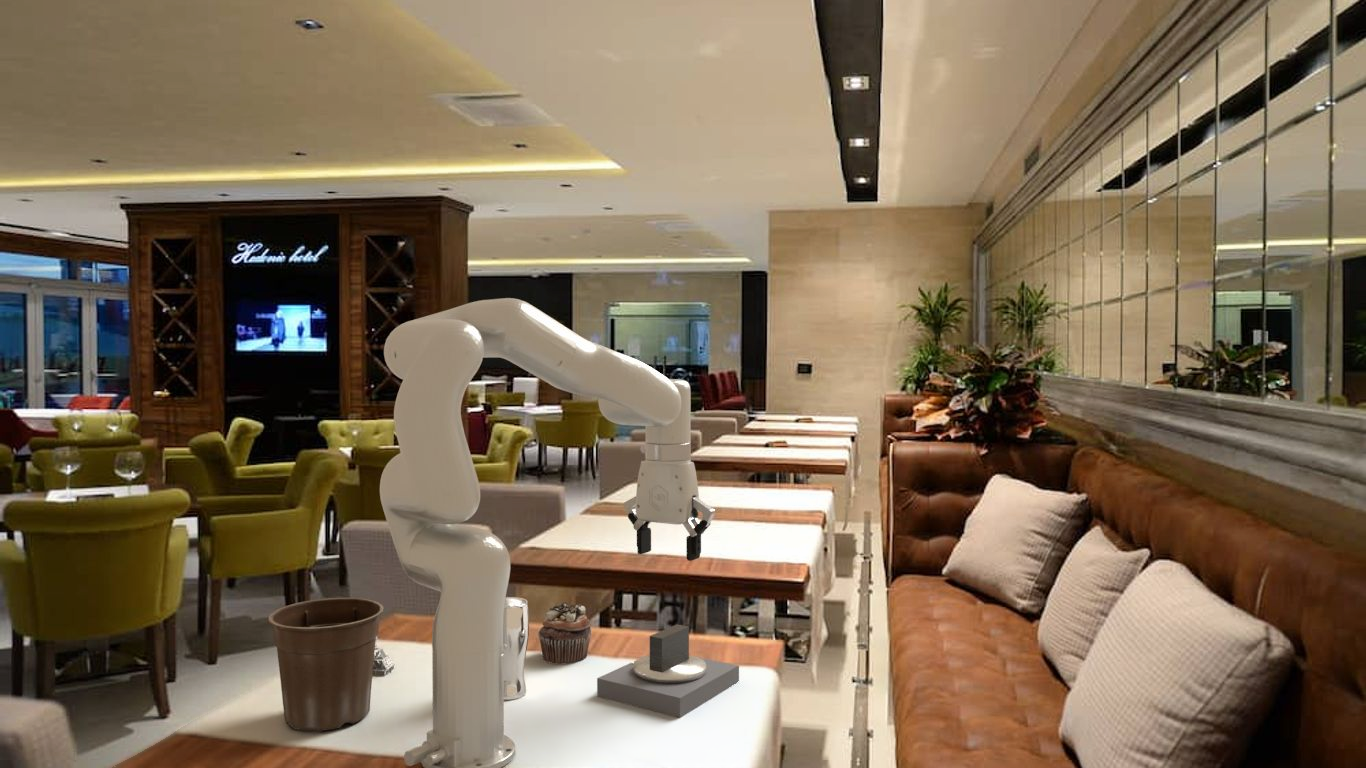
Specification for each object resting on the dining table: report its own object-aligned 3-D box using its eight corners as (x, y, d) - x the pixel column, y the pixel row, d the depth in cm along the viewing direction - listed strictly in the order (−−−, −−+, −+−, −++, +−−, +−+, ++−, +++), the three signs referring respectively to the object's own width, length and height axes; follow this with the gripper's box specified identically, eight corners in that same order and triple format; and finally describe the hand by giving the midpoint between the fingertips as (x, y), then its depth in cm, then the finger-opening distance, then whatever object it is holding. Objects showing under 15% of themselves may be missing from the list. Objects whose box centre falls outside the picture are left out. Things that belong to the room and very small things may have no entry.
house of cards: (416, 662, 166) (416, 620, 166) (394, 679, 157) (394, 634, 157) (369, 660, 167) (369, 618, 167) (345, 676, 159) (345, 632, 159)
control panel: (680, 717, 140) (680, 696, 139) (597, 696, 148) (597, 676, 148) (738, 683, 155) (739, 664, 155) (660, 666, 163) (660, 648, 163)
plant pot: (376, 733, 133) (376, 623, 133) (257, 742, 130) (256, 629, 130) (389, 694, 149) (388, 595, 149) (283, 701, 146) (282, 600, 146)
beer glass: (519, 703, 145) (519, 608, 145) (478, 699, 147) (478, 606, 146) (535, 688, 152) (535, 597, 152) (495, 685, 154) (495, 595, 153)
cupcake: (596, 651, 172) (596, 598, 171) (583, 668, 162) (583, 612, 162) (547, 649, 173) (547, 596, 173) (531, 665, 164) (531, 609, 163)
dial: (680, 688, 143) (680, 646, 143) (618, 674, 150) (618, 634, 149) (719, 667, 153) (719, 628, 153) (660, 654, 160) (660, 617, 160)
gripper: (612, 452, 154) (613, 554, 155) (701, 458, 145) (701, 566, 146) (638, 449, 161) (638, 546, 161) (724, 454, 151) (724, 557, 152)
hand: (668, 555), depth 153 cm, fingers open, 9 cm apart
